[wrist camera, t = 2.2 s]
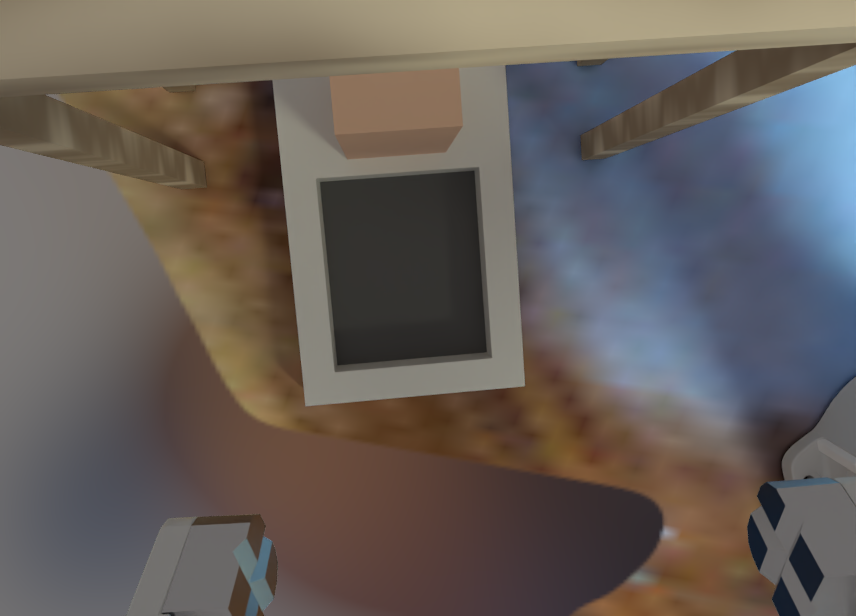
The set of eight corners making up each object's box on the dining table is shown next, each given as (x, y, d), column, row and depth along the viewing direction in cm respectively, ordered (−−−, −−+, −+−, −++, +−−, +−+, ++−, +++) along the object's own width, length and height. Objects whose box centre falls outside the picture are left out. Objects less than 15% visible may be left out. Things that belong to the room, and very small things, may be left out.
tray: (517, 377, 43) (524, 386, 40) (310, 396, 42) (305, 406, 40) (485, -125, 39) (492, -149, 37) (259, -114, 38) (250, -138, 36)
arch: (608, 158, 42) (986, 17, 15) (178, 189, 40) (-224, 93, 14) (603, 38, 41) (993, -328, 14) (163, 66, 39) (-295, -287, 13)
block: (445, 152, 38) (462, 125, 30) (347, 159, 38) (334, 134, 29) (438, 50, 38) (453, -8, 29) (338, 56, 37) (322, -1, 28)
